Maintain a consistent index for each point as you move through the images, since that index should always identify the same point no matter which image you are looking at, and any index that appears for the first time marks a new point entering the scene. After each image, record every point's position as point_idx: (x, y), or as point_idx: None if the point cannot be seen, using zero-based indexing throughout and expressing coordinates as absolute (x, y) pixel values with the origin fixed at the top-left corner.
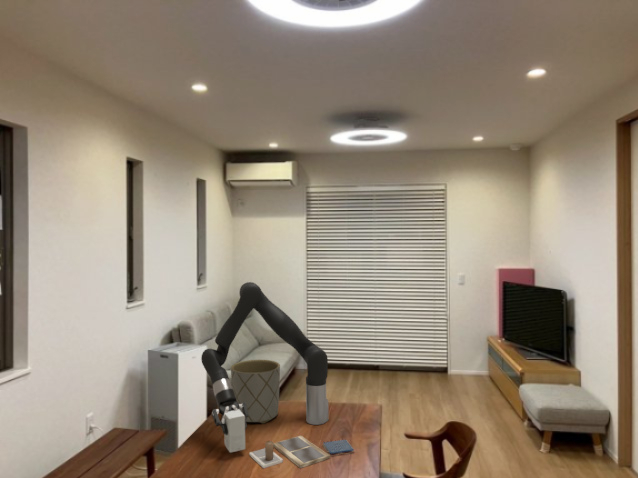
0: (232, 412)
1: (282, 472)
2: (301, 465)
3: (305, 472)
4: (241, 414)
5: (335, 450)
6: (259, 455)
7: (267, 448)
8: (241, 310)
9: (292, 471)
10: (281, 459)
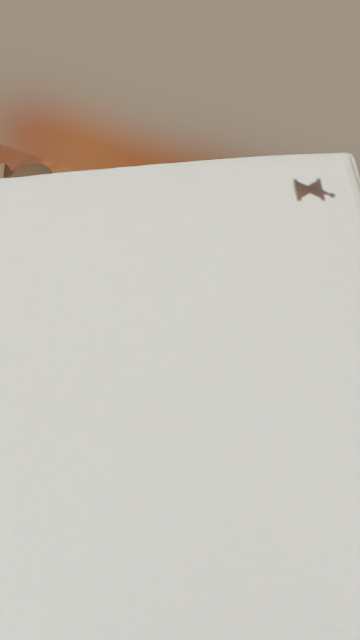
0: (192, 561)
1: (76, 170)
2: (2, 166)
3: (15, 149)
4: (14, 258)
5: None
6: None
7: None
8: None
9: (45, 165)
10: None
